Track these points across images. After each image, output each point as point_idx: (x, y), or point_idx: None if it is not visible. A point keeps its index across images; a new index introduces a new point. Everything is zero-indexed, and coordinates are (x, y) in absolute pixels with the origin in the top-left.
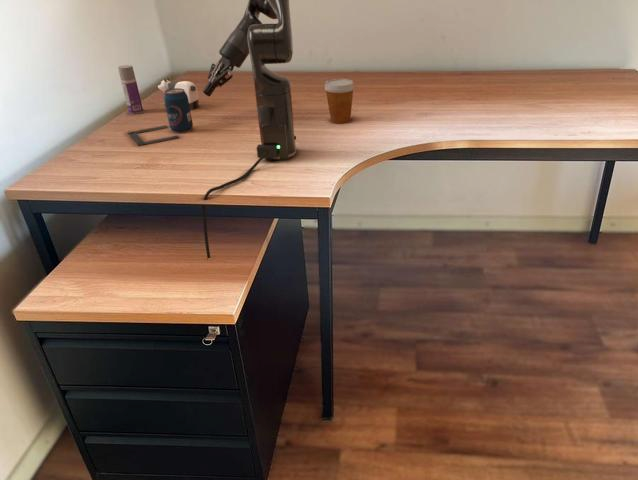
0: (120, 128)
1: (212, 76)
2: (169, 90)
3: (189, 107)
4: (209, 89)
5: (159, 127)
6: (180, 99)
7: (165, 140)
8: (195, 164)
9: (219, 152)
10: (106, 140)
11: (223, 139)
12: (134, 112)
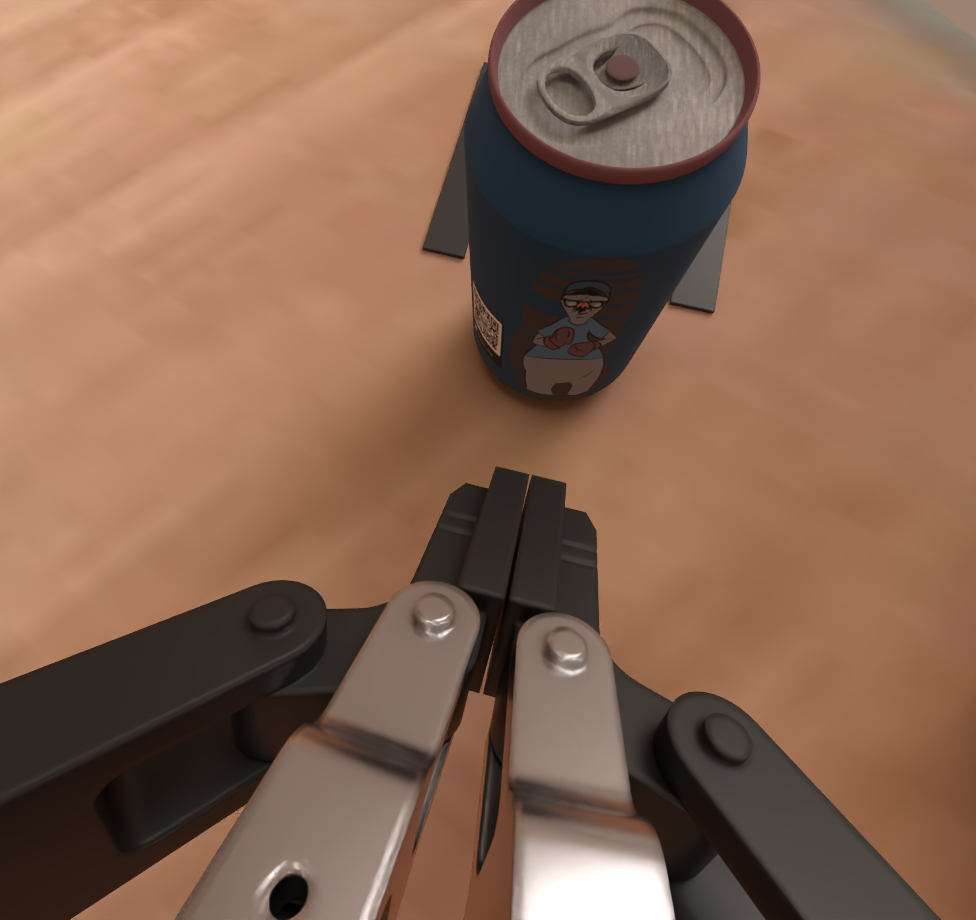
0: (867, 128)
1: (526, 747)
2: (741, 68)
3: (512, 311)
4: (440, 528)
5: (706, 267)
6: (465, 124)
7: (445, 179)
8: (2, 108)
9: (8, 267)
10: None
11: (158, 410)
12: None
